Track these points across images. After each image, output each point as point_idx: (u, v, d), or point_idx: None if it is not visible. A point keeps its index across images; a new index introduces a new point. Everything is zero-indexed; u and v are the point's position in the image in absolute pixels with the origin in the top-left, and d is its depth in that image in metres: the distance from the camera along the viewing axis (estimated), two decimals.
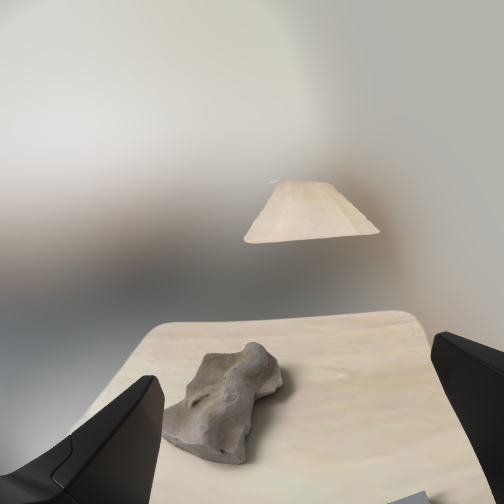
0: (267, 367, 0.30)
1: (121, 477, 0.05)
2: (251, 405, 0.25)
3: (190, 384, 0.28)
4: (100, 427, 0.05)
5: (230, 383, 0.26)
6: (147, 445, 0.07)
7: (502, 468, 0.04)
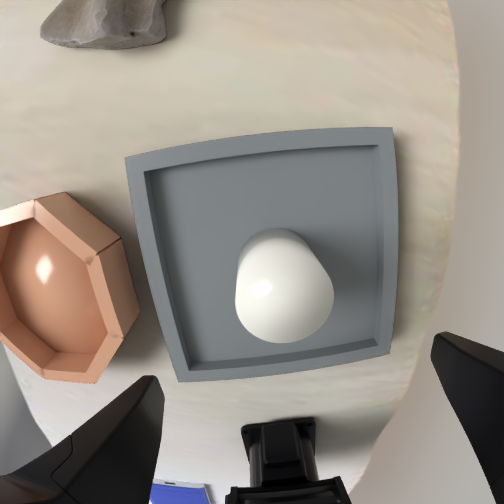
0: None
1: (121, 477, 0.05)
2: None
3: None
4: (100, 427, 0.05)
5: None
6: (147, 445, 0.07)
7: (502, 468, 0.04)
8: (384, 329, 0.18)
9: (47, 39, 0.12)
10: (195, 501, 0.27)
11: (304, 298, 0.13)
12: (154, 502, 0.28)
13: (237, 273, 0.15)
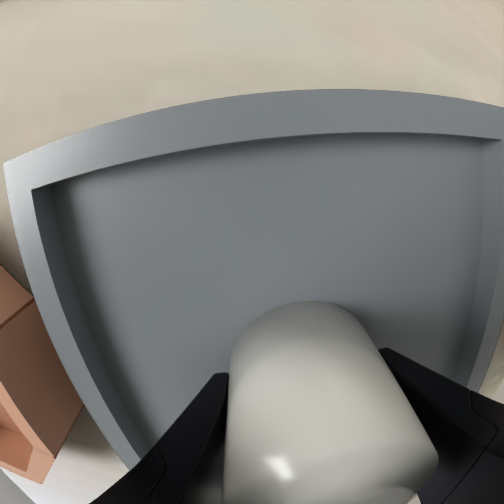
0: None
1: (213, 485, 0.05)
2: None
3: None
4: (189, 433, 0.05)
5: None
6: None
7: None
8: None
9: None
10: None
11: (374, 494, 0.04)
12: None
13: (227, 415, 0.06)
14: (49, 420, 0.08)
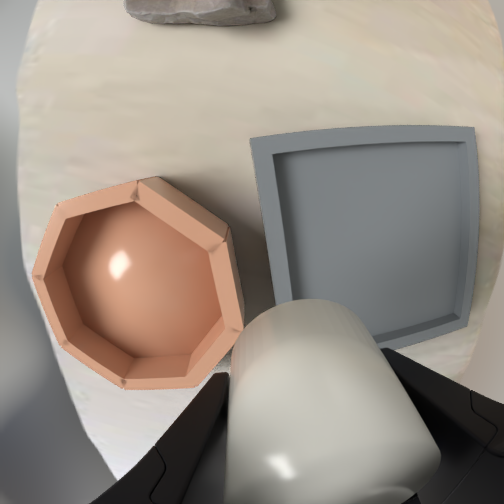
0: None
1: (213, 485, 0.05)
2: None
3: None
4: (189, 433, 0.05)
5: None
6: None
7: None
8: (465, 303, 0.18)
9: (138, 13, 0.12)
10: None
11: (377, 493, 0.04)
12: None
13: (228, 413, 0.06)
14: (241, 304, 0.17)
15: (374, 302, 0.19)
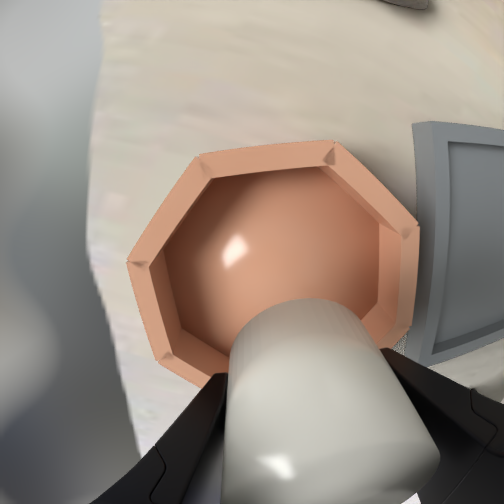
0: None
1: (213, 485, 0.05)
2: None
3: None
4: (189, 433, 0.05)
5: None
6: None
7: None
8: None
9: None
10: None
11: (375, 493, 0.04)
12: None
13: (226, 413, 0.06)
14: None
15: (489, 295, 0.16)
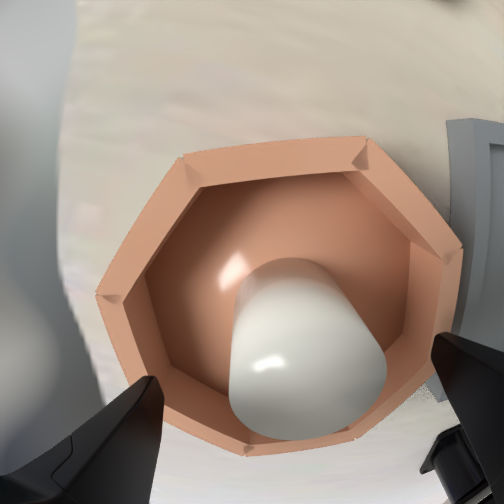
0: None
1: (121, 477, 0.05)
2: None
3: None
4: (100, 427, 0.05)
5: None
6: (147, 445, 0.07)
7: (502, 468, 0.04)
8: None
9: None
10: None
11: (340, 387, 0.07)
12: None
13: (232, 334, 0.10)
14: None
15: None
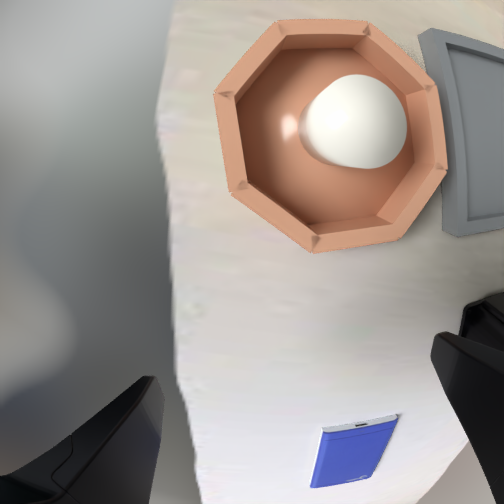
0: None
1: (121, 477, 0.05)
2: None
3: None
4: (100, 427, 0.05)
5: None
6: (147, 445, 0.07)
7: (502, 468, 0.04)
8: None
9: None
10: (377, 444, 0.26)
11: (381, 119, 0.12)
12: (321, 465, 0.26)
13: (306, 116, 0.14)
14: None
15: None
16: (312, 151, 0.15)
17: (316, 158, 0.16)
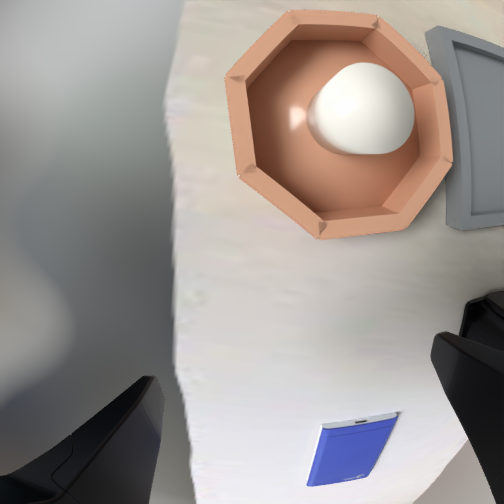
0: None
1: (121, 477, 0.05)
2: None
3: None
4: (100, 427, 0.05)
5: None
6: (147, 445, 0.07)
7: (502, 468, 0.04)
8: None
9: None
10: (376, 442, 0.25)
11: (389, 106, 0.12)
12: (319, 462, 0.26)
13: (315, 103, 0.14)
14: None
15: None
16: (320, 138, 0.15)
17: (324, 146, 0.16)
